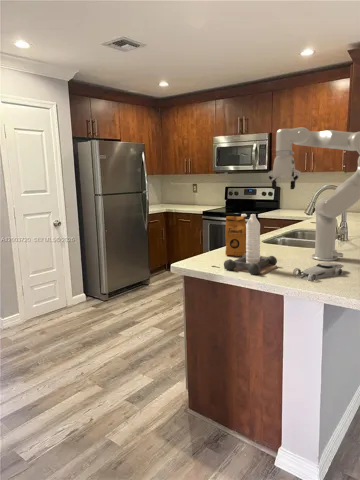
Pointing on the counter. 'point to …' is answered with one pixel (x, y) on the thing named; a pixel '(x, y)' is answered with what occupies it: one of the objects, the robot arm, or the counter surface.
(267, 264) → the chassis
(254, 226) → the water bottle
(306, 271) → the car model
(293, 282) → the counter surface
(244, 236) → the coffee package
